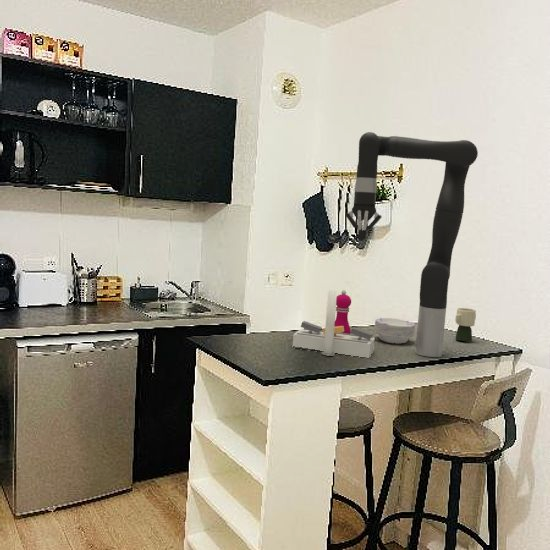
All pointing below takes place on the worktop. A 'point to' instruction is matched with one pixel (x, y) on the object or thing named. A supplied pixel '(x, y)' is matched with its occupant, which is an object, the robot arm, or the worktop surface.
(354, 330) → the paddle
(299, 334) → the breaker panel
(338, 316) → the pepper mill
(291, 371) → the worktop surface
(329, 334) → the post
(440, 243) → the robot arm
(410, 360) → the worktop surface
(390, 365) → the worktop surface
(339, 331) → the block
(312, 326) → the paddle
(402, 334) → the paper bowls
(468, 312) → the character mug
